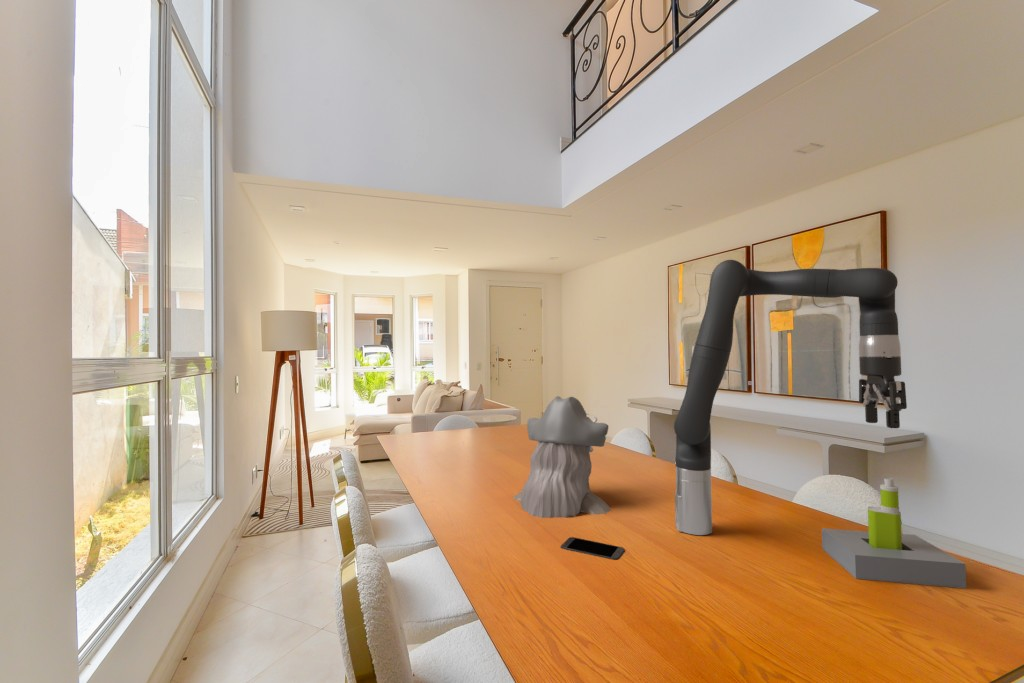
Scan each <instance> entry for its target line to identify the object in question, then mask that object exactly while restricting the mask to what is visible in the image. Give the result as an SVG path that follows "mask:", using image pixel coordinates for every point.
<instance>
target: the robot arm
mask: <svg viewBox="0 0 1024 683" xmlns="http://www.w3.org/2000/svg"><path fill="white" fill-rule="evenodd" d="M709 281H710V282H709V287H708V288H709V289H708V294H707V300H706V301H707V302H706V308H705V311H704V315H703V317H702V319H701V324H700V326H699V330H698V334H697V337H696V340H695V344H694V347H693V349H692V350H693V351H692V356H691V358H690V359H691V360H690V364H689V369H688V375H687V376H688V377H687V383H686V390H685V393H684V397H683V399H682V403H681V406H680V408H679V410H678V413H677V416H676V417H675V420H674V423H673V430H674V433H675V436H676V437H675V438H676V439H675V440H676V443H675V444H676V445H675V446H676V447H675V448H676V449H675V456H674V457H675V491H674V507H675V508H674V510H675V512H674V513H675V514H674V516H675V518H674V521H675V522H674V523H675V527H676V529H677V531H678V532H680V533H685V534H689V535H696V536H706V535H710V534H712V533H713V517H712V516H713V510H712V509H713V504H712V502H713V501H712V441H711V440H712V436H711V435H712V431H711V430H712V429H711V416H712V411H713V410H712V409H713V405H714V400H715V397H716V394H717V391H718V389H719V387H720V385H721V382H722V381H723V377H724V375H725V373H726V370H727V367H728V363H729V359H730V356H731V352H732V347H733V340H734V339H733V338H734V319H735V312H736V309H737V308H736V307H737V305H738V303H739V300H740V298H741V297H748V296H768V295H770V296H771V295H774V296H775V295H776V296H778V295H779V296H780V295H781V296H793V297H794V296H796V297H808V298H809V297H811V298H831V299H832V298H833V299H836V298H841V297H848V298H849V297H851V298H858V305H859V311H860V313H859V314H860V315H859V324H858V325H859V343H858V356H859V359H858V361H859V362H858V363H859V374H860V375H861V376H865V377H866V376H867V378H859V379H858V402H859V404H862V405H863V407H864V410H865V411H864V412H865V422H866V423H868V424H877V423H878V422H879V421H878V418H879V417H878V404H879V403H882V404H883V406H884V407H885V409H886V411H885V423H886V428H889V429H899V428H901V426H900V425H901V423H900V422H901V421H900V420H901V419H900V412H901V411H902V410H906V409H907V407H908V405H907V404H908V403H907V393H906V383H905V381H895V377H899V376H902V360H901V359H902V356H901V342H900V339H899V319H898V315H897V312H896V289H897V287H898V278H897V276H896V274H895V273H894V272H892V271H891V270H889V269H886V268H882V267H881V268H879V267H865V268H863V267H860V268H850V269H849V268H848V269H839V268H838V269H836V268H800V269H790V270H781V271H767V270H766V271H763V270H757V269H756V270H755V269H751V268H750V269H749V268H747V267H746V266H745V265H744V264H743V263H742V262H740V261H738V260H735V259H727V260H723V261H721V262H720V263H719V264H718V265H716V266H715V267H714V269H713V270H712V272H711V274H710V280H709Z"/></svg>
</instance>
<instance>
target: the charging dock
mask: <svg viewBox="0 0 1024 683" xmlns="http://www.w3.org/2000/svg"><path fill="white" fill-rule="evenodd" d="M901 537H902V550H894V549H881V548H874V547H872V546H871V545H869V531H868V530H867V531H864V530H854V529H853V530H852V529H851V530H850V529H838V528H836V529H835V528H821V547H822V550H823V551H824V552H826V553H827V554H828V556H830V557H831V558H832V559H833V560H834V561H836V562H837V563H838V564H839V565H840V566H841V567H842V568H844V569H845V571H847V572H848V573H849V574H850V575H852V576H851V577H853V578H855V579H856V580H869V581H879V582H888V583H889V582H890V583H901V584H911V585H912V584H914V585H923V586H924V585H925V586H936V587H944V588H945V587H946V588H955V589H958V588H959V589H967V570H966V563H965V562H963V561H962V560H960V559H958V558H957V557H954V556H953V555H951V554H949V553H948V552H946V551H944V550H943V549H940V548H939V547H937V546H935V545H934V544H931V543H930V542H928V541H927V540H925V539H923V538H921V537H919V536H918V535H916V534H909V533H901Z"/></svg>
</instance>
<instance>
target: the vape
mask: <svg viewBox="0 0 1024 683" xmlns="http://www.w3.org/2000/svg"><path fill="white" fill-rule="evenodd" d="M883 480H884V484H883V483H882V484H880V485H879V486H880V487H879V488H880V489H879V490H880V507H878V506H868V507H867V520H868V521H867V524H868V532H869V545H871V546H872V547H874V548H881V549H894V550H902V537H901V534H902V523H903V521H902V516H901V511H900V507H899V506H900V504H899V501H900V500H899V486H896V485H894V478H892V477H884V479H883Z"/></svg>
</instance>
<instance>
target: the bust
mask: <svg viewBox="0 0 1024 683" xmlns="http://www.w3.org/2000/svg"><path fill="white" fill-rule="evenodd" d="M545 408H546V409H545V410H544V412H543V413H542V416H540V418H539V417H538V418H537V417H530V418H528V419H527V422H526V424H527V425H526V426H527V427H526V430H527V435H528V439H529V440H530V441H535V442H537V444H536V447H535V449H534V450H533V451H532V453H531V455H530V458H529V459H530V470H529V474H528V477H527V479H526V482H525V483H524V485H523V486H522V488H521V491H520V492H519V493H517V494H516V495H514V496H512V497H513V499H514V501H520V507H521V510H523V511H525V512H527V513H528V515H531V516H532V517H537V518H541V519H543V518H544V519H547V518H548V519H551V518H552V519H553V518H564V519H565V518H569V517H576V516H577V515H579V514H580V513H585V514H591V515H596V516H597V515H604V514H607V513H608V512H609V511H611V507H610V506H609V505H608V504H607V503H606V502H605V501H604V500H603V499H602V497H599V496H598V495H596V494H595V493H593V491H592V490H590V476H591V474H592V466H593V465H592V461H591V454H590V453H592V452H594V448H593V447H597V448H598V447H599V448H600V447H604V446H605V443H606V439H607V437H606V436H607V435H608V432H609V425H608V424H607V423H605V422H597V421H598V418H597V417H596V416H595V415H593V414H591V413H586V411H587V410H588V408H586V409H585V408H584V406H583V405H582V403H581V401H580V400H579V399H578V398H577V397H574V396H569V397H566V398H562V397H561V396H558V395H557V396H555V397H554V398H553V399H552V400H551V401H550V402H549V403H548V405H547V406H546V407H545ZM589 415H590V416H592V417H593V418H594V419H593V420H592V419H591V418H590V417H589Z"/></svg>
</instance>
